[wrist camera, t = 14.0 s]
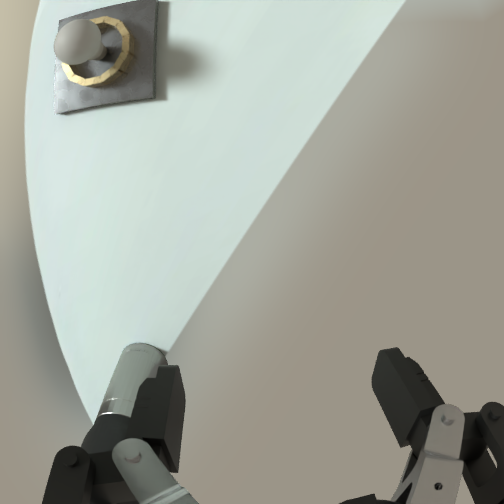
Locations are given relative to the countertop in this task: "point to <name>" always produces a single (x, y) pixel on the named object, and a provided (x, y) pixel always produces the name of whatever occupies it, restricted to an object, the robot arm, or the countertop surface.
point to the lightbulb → (79, 42)
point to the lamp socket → (112, 59)
